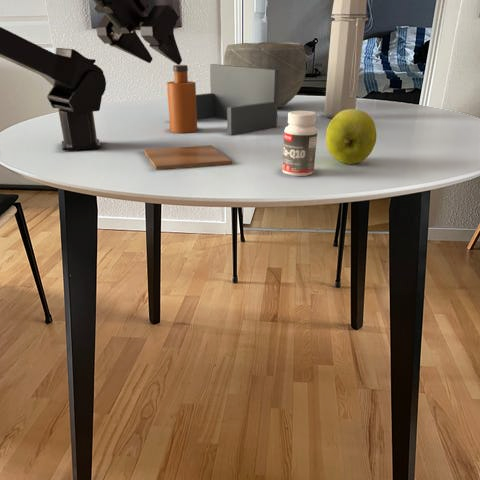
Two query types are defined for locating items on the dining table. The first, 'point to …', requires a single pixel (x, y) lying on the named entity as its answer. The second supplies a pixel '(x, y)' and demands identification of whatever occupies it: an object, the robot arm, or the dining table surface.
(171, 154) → the wooden square board
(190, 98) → the amber bottle
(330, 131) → the apple
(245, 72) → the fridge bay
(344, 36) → the water bottle
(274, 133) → the dining table surface
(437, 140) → the dining table surface
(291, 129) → the pill bottle
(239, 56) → the bowl
